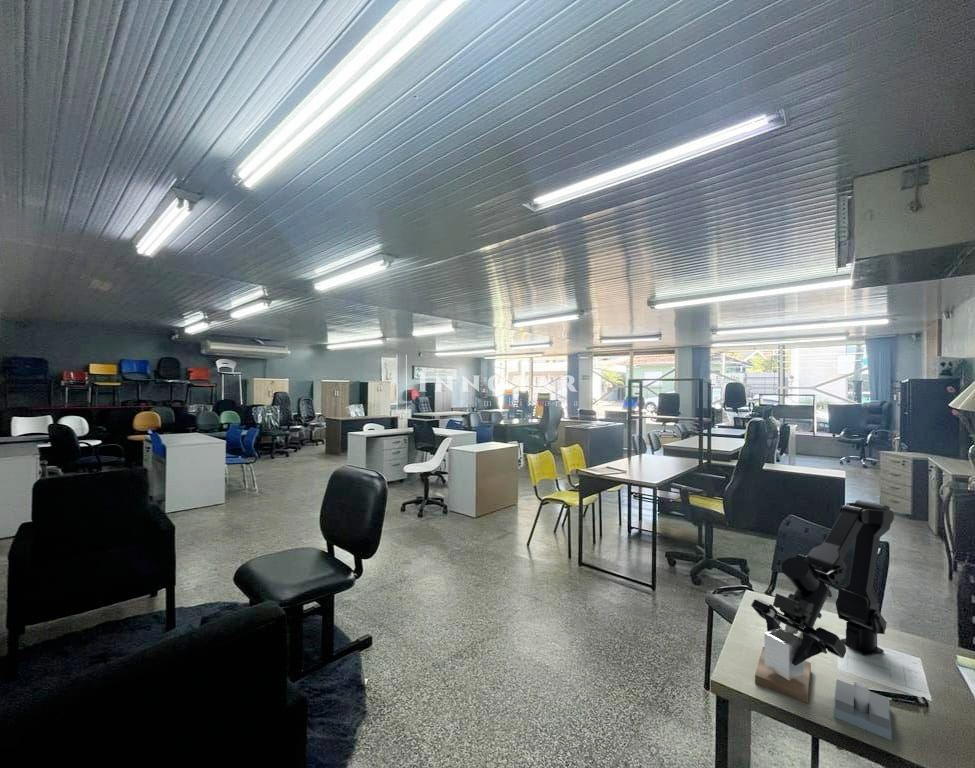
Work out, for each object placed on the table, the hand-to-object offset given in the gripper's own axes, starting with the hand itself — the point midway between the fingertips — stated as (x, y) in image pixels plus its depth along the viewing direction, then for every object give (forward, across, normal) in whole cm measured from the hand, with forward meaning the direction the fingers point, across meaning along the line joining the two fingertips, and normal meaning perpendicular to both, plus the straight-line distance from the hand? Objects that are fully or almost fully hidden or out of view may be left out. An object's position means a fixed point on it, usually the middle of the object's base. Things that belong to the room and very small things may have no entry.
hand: (780, 657), depth 99 cm
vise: (0, +12, +10) cm, 16 cm away
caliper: (-14, -11, +24) cm, 30 cm away
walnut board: (+2, -2, +7) cm, 8 cm away
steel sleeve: (+1, 0, +3) cm, 4 cm away
